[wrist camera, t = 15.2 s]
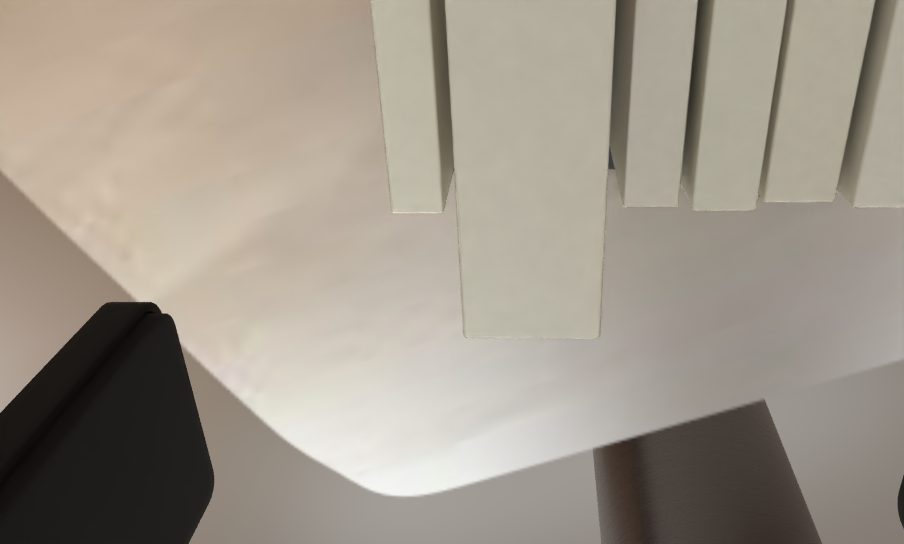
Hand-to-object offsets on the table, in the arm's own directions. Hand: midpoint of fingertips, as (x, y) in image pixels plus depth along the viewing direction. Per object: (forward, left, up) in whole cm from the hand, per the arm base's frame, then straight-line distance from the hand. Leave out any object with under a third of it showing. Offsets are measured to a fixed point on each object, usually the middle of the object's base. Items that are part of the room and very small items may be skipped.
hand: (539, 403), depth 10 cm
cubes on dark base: (0, -4, -19) cm, 19 cm away
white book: (0, 0, -18) cm, 18 cm away
